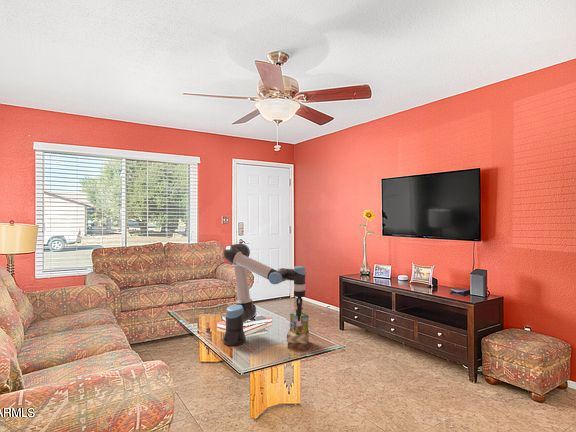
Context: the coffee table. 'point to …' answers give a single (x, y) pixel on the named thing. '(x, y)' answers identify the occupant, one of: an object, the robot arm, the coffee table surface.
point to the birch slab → (297, 337)
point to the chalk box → (304, 323)
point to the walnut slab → (297, 345)
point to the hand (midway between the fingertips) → (299, 322)
